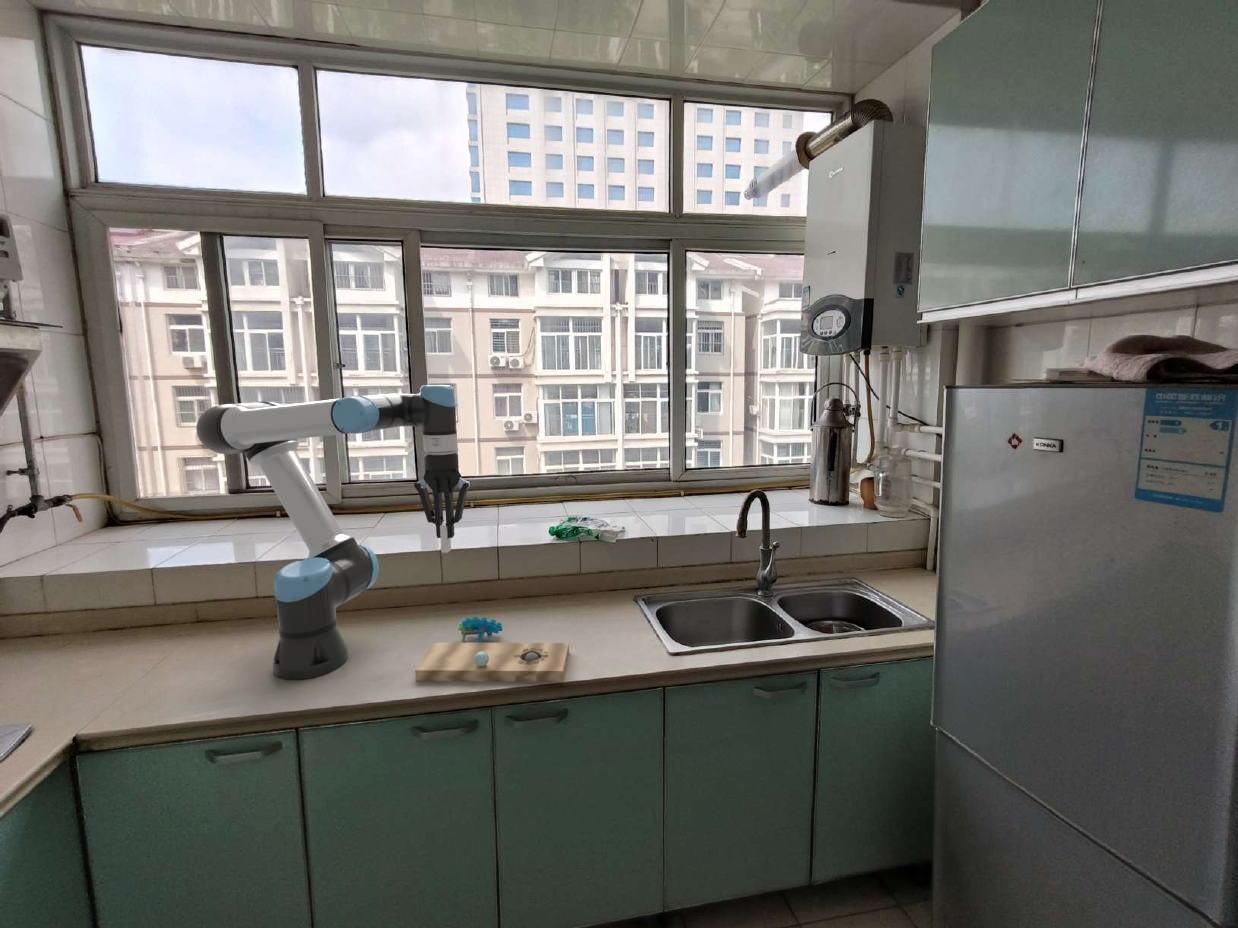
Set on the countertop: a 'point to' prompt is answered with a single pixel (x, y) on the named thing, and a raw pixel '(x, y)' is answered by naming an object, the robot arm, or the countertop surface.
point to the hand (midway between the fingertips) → (446, 550)
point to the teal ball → (481, 659)
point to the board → (494, 662)
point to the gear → (478, 627)
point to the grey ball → (531, 657)
